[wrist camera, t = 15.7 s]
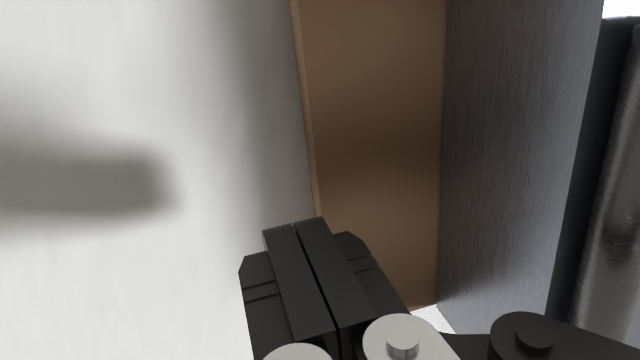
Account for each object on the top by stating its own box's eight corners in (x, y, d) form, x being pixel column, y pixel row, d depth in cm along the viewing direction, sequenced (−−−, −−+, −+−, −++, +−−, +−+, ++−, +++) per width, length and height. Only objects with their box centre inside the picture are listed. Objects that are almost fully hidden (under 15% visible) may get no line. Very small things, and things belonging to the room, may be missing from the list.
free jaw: (449, -35, 11) (689, -35, 6) (615, -56, 12) (947, -72, 7) (436, 307, 17) (555, 466, 12) (552, 272, 18) (710, 403, 13)
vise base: (287, -18, 12) (372, -4, 6) (768, -77, 15) (1079, -100, 10) (327, 315, 17) (390, 466, 12) (671, 217, 21) (836, 302, 15)
